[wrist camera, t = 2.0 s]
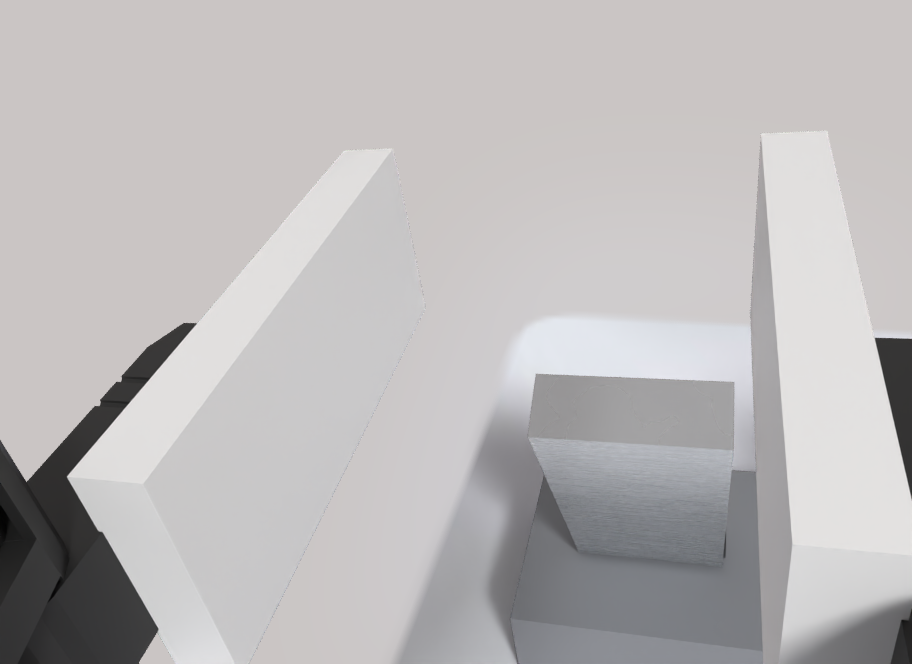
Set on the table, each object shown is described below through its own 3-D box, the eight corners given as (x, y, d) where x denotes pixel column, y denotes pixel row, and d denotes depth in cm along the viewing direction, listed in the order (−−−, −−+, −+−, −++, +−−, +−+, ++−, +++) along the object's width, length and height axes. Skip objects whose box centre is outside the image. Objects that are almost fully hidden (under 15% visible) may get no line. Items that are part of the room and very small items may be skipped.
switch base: (1259, 777, 24) (1306, 717, 22) (519, 668, 31) (509, 615, 29) (1151, 559, 30) (1181, 497, 29) (554, 506, 37) (547, 453, 35)
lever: (724, 570, 30) (738, 450, 20) (578, 555, 31) (523, 436, 21) (725, 520, 30) (738, 382, 21) (582, 508, 32) (532, 373, 22)
